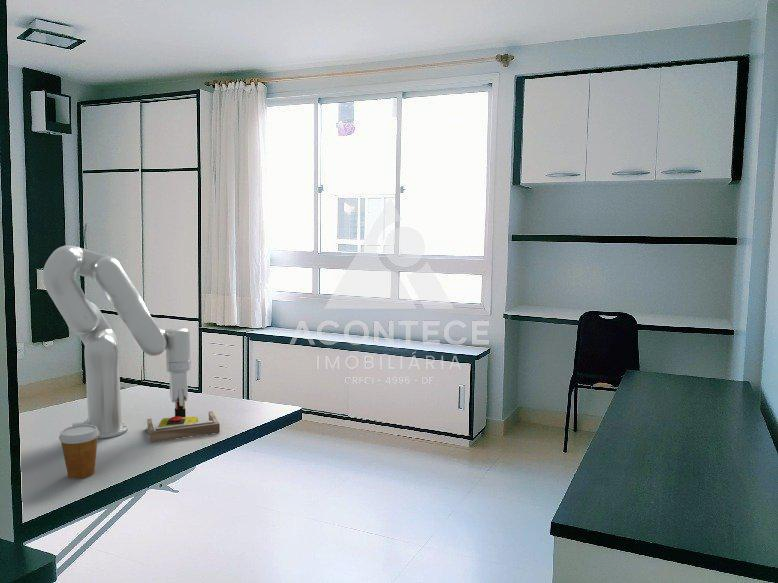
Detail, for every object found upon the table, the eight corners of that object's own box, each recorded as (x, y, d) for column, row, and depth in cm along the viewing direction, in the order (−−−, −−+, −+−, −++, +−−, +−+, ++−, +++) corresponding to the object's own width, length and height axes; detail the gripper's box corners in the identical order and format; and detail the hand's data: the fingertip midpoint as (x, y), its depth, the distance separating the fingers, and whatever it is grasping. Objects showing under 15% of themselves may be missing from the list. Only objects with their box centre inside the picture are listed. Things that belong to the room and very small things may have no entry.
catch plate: (155, 437, 189) (155, 427, 189) (212, 429, 196) (212, 420, 196) (156, 438, 188) (155, 429, 188) (213, 430, 195) (212, 421, 195)
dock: (147, 428, 199) (147, 419, 198) (212, 419, 207) (212, 411, 207) (150, 442, 186) (150, 432, 186) (219, 432, 194) (219, 423, 194)
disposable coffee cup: (73, 466, 167) (71, 423, 166) (107, 467, 167) (105, 424, 165) (53, 481, 158) (50, 435, 156) (89, 481, 157) (87, 436, 156)
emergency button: (157, 414, 200) (205, 412, 203) (157, 427, 201) (205, 425, 204) (152, 423, 191) (202, 420, 194) (152, 437, 191) (202, 434, 194)
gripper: (164, 362, 207) (166, 415, 209) (168, 371, 193) (170, 428, 195) (187, 360, 210) (189, 412, 212) (193, 369, 196) (195, 425, 198)
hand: (180, 419), depth 203 cm, fingers closed
